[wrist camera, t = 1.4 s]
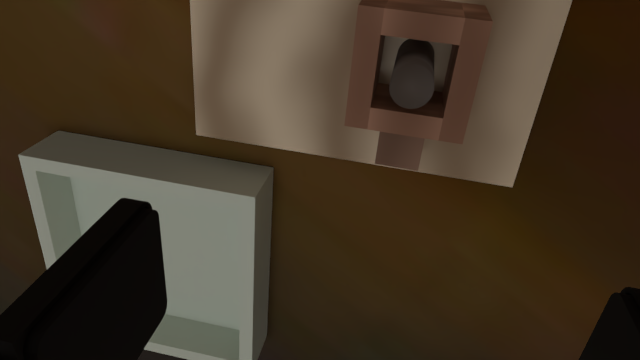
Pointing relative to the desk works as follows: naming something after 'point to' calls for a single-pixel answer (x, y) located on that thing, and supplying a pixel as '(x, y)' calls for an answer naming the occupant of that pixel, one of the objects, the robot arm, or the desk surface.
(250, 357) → the tray
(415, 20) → the tabbed ring
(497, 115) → the stake board
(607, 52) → the desk surface
